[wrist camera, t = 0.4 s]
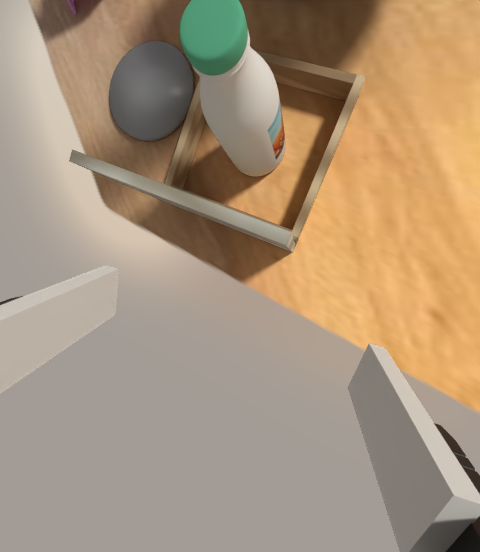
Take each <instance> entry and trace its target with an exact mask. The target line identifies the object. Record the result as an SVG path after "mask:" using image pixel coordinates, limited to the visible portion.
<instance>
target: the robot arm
mask: <svg viewBox="0 0 480 552" xmlns="http://www.w3.org/2000/svg"><path fill="white" fill-rule="evenodd" d="M118 276H119V269H117V268H114V267H111V266H107V265H105V266H102V267H100V268H97V269H95V270H92V271H89V272H87V273H84V274H81V275H79V276H76V277H73V278H71V279H68V280H65V281H63V282H60V283H58V284H55V285H52V286H50V287H47V288H44V289H42V290H39V291H36V292H34V293H31V294H29V295H26V296H21V297H16V298H11V299H9V300H6V301H3V302H0V393H2V392H3V391H5V390H6V389H8V388H9V387H11V386H12V385H13V384H15V383H16V382H18V381H19V380H21V379H22V378H24V377H25V376H27V375H28V374H29V373H31V372H32V371H34V370H35V369H37V368H38V367H40V366H41V365H43V364H44V363H45V362H47V361H48V360H50V359H51V358H53V357H54V356H55V355H57V354H58V353H60V352H61V351H63V350H64V349H66V348H67V347H69V346H70V345H72V344H73V343H74V342H76V341H77V340H79V339H80V338H82V337H83V336H85V335H86V334H88V333H89V332H91V331H92V330H93V329H95V328H96V327H98V326H99V325H101V324H102V323H104V322H105V321H107V320H108V319H109V318H111V317H112V316H114V315H115V314H116V313H115V312H116V302H117V289H118ZM348 390H349V393H350V396H351V399H352V402H353V405H354V408H355V412H356V415H357V418H358V421H359V424H360V427H361V430H362V434H363V437H364V440H365V443H366V446H367V449H368V453H369V455H370V459H371V462H372V465H373V468H374V471H375V474H376V478H377V481H378V484H379V487H380V490H381V493H382V497H383V500H384V503H385V506H386V509H387V512H388V516H389V518H390V522H391V525H392V528H393V531H394V534H395V537H396V541H397V544H398V547H399V550H400V552H480V475H479V474H478V473H477V472H475V468H474V467H473V465H472V464H471V462H470V461H469V460H468V458H466V457H465V456H466V455H465V454H464V452H463V451H462V450H461V448H460V446H459V445H458V444H457V442H456V441H455V440H454V438H453V437H452V436H450V434H449V433H448V432H447V431H446V430H445V429H444V428H443V427H441V426H440V425H438V424H435V423H433V421H432V420H431V418H430V417H429V415H428V414H427V412H426V410H425V409H424V407H423V406H422V404H421V403H420V401H419V400H418V398H417V397H416V395H415V393H414V392H413V390H412V389H411V387H410V386H409V384H408V383H407V381H406V380H405V378H404V376H403V375H402V374H401V372H400V370H399V369H398V367H397V366H396V364H395V362H394V361H393V359H392V358H391V356H390V355H389V353H388V352H387V350H386V349H385V348H383V347H380V346H377V345H373V344H370V343H369V344H368V347H367V349H366V351H365V353H364V355H363V357H362V359H361V361H360V363H359V366H358V368H357V370H356V372H355V374H354V376H353V378H352V380H351V382H350V384H349V386H348Z"/></svg>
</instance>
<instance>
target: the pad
mask: <svg viewBox="0 0 480 552" xmlns="http://www.w3.org/2000/svg"><path fill="white" fill-rule="evenodd" d="M194 89H195V86H194V77H193V73H192V70H191V68H190V66H189V64H188V62H187V60H186V58H185V57H184V55H183V54H182V53H181V52H180V51H179V50H178V49H177V48H176V47H174V46H173V45H171V44H169V43H166V42H162V41H149V42H145V43H142V44H140V45H137V46H136V47H134V48H133V49H131V50H130V51H129V52H128V53H127V54H126V55H125V56H124V57H123V58H122V59H121V61H120V62H119V64H118V65H117V67H116V69H115V71H114V73H113V76H112V79H111V83H110V89H109V102H110V108H111V112H112V115H113V117H114V119H115V121H116V122H117V124H118V125H119V127H120V128H121V129H122V130H123V131H125V132H126V133H127V134H128V135H130V136H132V137H133V138H135V139H138V140H141V141H157V140H160V139H163V138H165V137H167V136H169V135H171V134H172V133H173V132H175V131H176V130H177V129H178V128H179V127H180V126H181V124H182V123H183V122H184V120H185V119H186V117H187V114H188V111H189V108H190V105H191V102H192V99H193V96H194Z"/></svg>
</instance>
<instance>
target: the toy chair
mask: <svg viewBox="0 0 480 552" xmlns="http://www.w3.org/2000/svg"><path fill="white" fill-rule="evenodd" d="M67 2H68V4H69V6H70V8H71V10H72V12H73V14H74V15H76V10H75V5H74V0H67Z"/></svg>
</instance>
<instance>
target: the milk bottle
mask: <svg viewBox="0 0 480 552" xmlns="http://www.w3.org/2000/svg"><path fill="white" fill-rule="evenodd" d="M179 35H180V41H181V45H182V48H183V50H184V52H185V54H186V56H187V58H188V60H189V61H190V63H191V64H192V66H193V68H194V70H195V72H196V73H197V74H198V75H199V76H200V101H201V107H202V111H203V114H204V117H205V119H206V121H207V124H208V126H209V127H210V129H211V131H212V132H213V134H214V136H215V137H216V139H217V140H218V142H219V143H220V145H221V146H222V148H223V149H224V151H225V152H226V154H227V155H228V156H229V158H230V159H231V161H232V162H233V164H234V165H235V166H236V167H237V169H238V170H239V171H241V172H242V173H244V174H246V175H248V176H255V177H257V176H263V175H266V174H268V173H270V172H271V171H273V170H274V169H275V168H276V167H277V166H278V165H279V163H280V162H281V160H282V158H283V156H284V153H285V134H284V126H283V118H282V111H281V104H280V98H279V93H278V88H277V84H276V81H275V78H274V75H273V73H272V71H271V69H270V68H269V66H268V64H267V63H266V62H265V60H264V59H263V58H262V57H261V56H260V55H259V54H258V53H257V52H255V51H254V50H253V49H252V48H251V47H250V36H249V32H248V28H247V22H246V18H245V14H244V11H243V8H242V5H241V4H240V2H239V0H191V2H190V3H189V4H188V5H187V7H186V9H185V10H184V12H183V15H182V18H181V21H180V27H179Z"/></svg>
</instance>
